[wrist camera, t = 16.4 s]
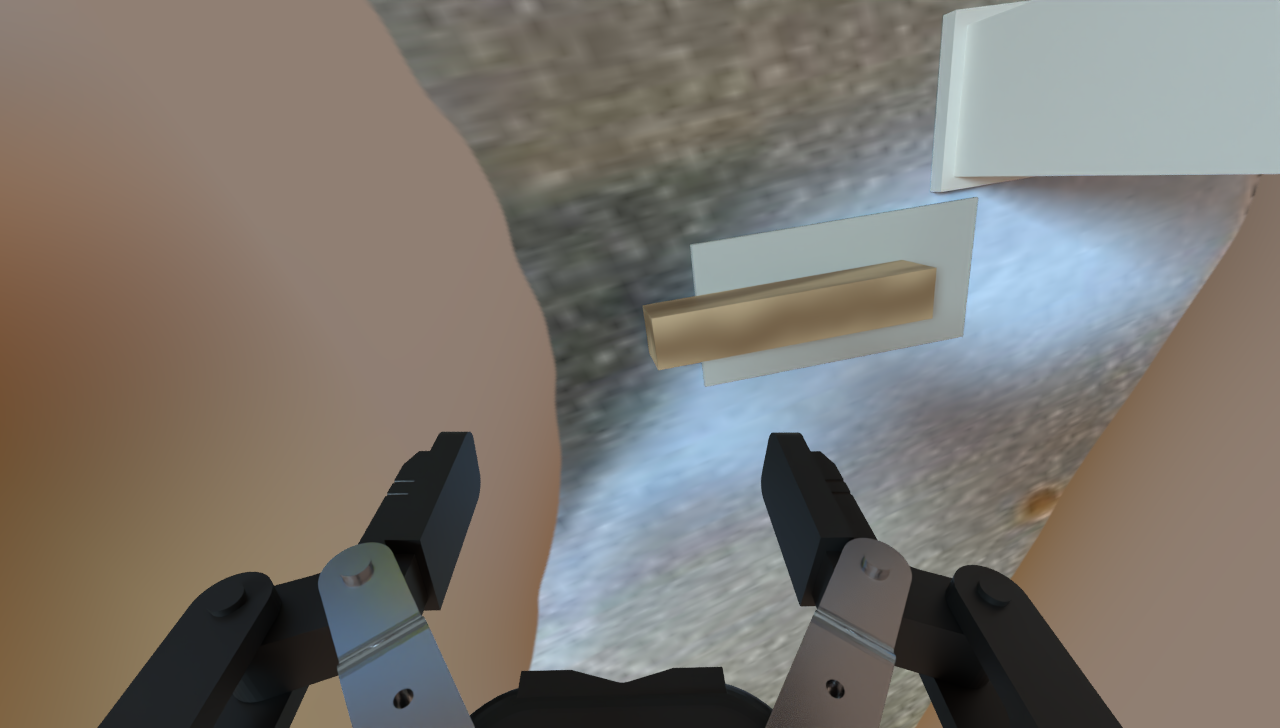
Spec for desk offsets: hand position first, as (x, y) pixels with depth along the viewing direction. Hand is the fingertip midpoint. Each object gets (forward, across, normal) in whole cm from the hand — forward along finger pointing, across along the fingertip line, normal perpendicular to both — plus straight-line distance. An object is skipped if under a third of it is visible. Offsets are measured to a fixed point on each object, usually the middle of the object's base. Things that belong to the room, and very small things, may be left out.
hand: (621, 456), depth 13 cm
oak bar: (+27, -13, +7) cm, 30 cm away
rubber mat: (+28, -18, +6) cm, 34 cm away
